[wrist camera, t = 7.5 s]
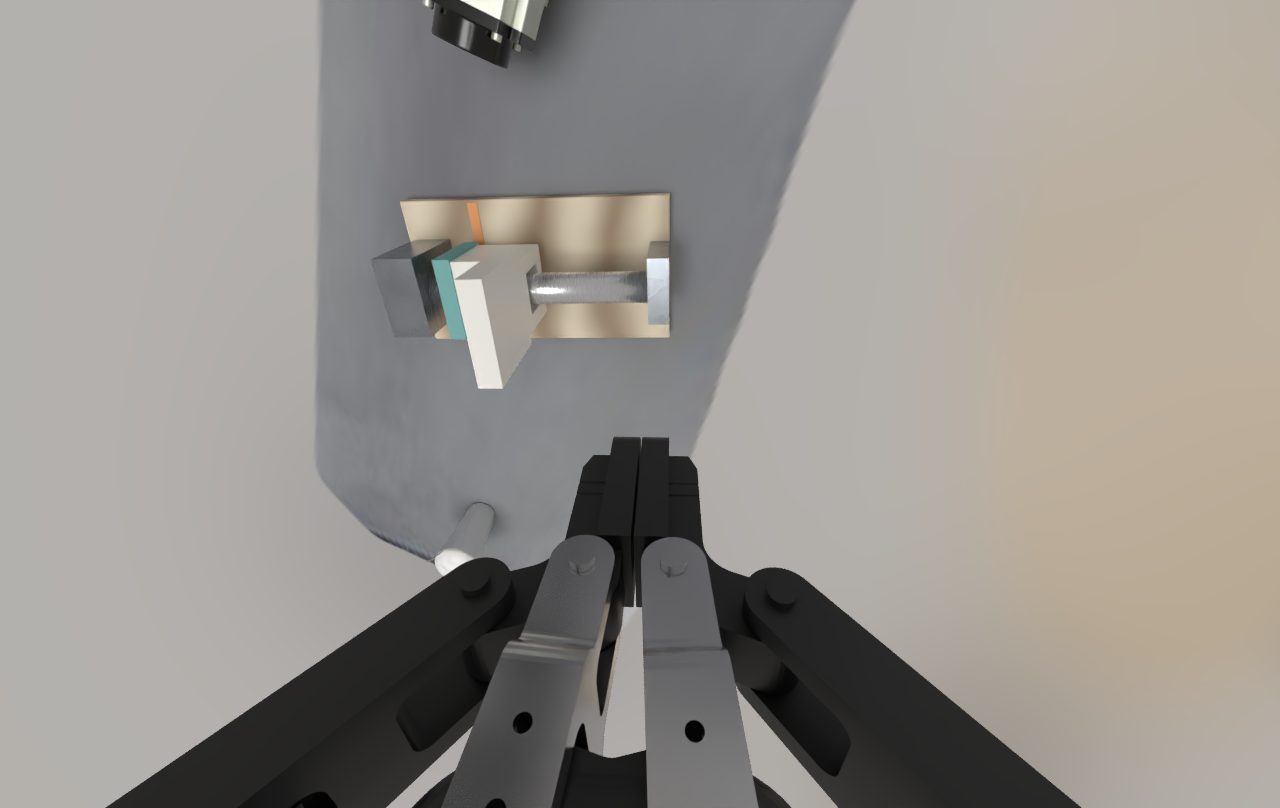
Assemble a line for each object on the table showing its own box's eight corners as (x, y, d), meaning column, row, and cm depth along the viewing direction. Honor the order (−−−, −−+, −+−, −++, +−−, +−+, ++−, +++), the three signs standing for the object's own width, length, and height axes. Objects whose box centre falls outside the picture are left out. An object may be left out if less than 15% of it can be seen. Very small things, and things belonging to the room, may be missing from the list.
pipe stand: (669, 192, 39) (669, 208, 31) (669, 331, 45) (668, 371, 37) (408, 199, 40) (349, 215, 33) (442, 332, 46) (399, 371, 39)
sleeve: (536, 234, 38) (481, 279, 27) (548, 318, 41) (503, 388, 30) (475, 236, 38) (395, 280, 27) (492, 319, 42) (427, 388, 31)
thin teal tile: (477, 241, 39) (447, 259, 33) (491, 312, 42) (466, 339, 36) (463, 242, 39) (431, 260, 33) (478, 312, 42) (450, 339, 37)
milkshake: (480, 488, 56) (445, 554, 47) (507, 518, 58) (479, 586, 50) (451, 501, 57) (412, 567, 49) (479, 530, 60) (446, 598, 51)
